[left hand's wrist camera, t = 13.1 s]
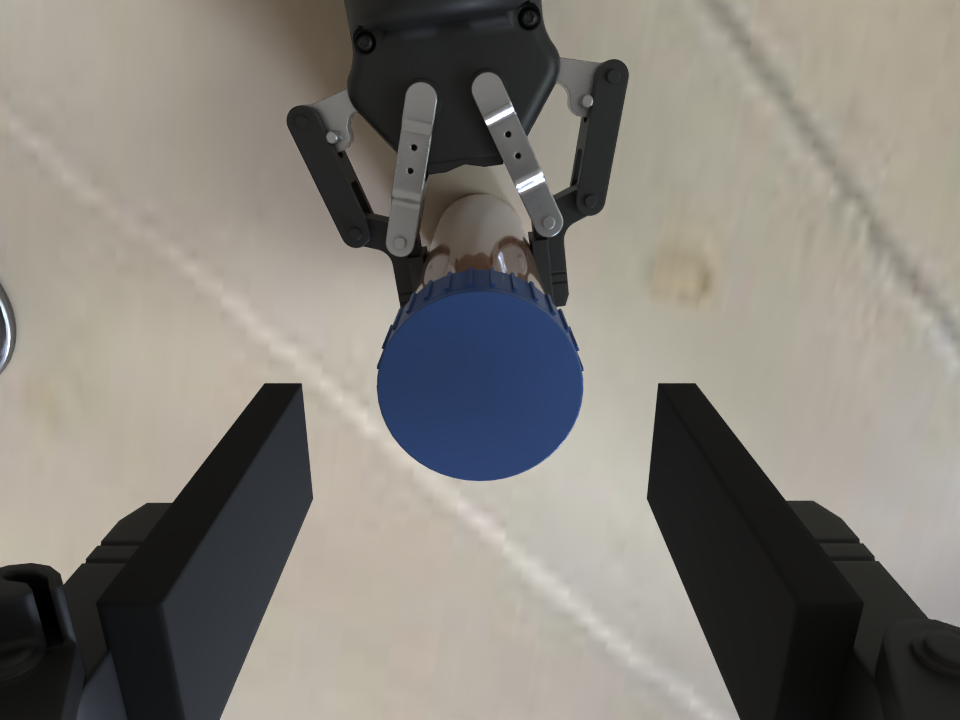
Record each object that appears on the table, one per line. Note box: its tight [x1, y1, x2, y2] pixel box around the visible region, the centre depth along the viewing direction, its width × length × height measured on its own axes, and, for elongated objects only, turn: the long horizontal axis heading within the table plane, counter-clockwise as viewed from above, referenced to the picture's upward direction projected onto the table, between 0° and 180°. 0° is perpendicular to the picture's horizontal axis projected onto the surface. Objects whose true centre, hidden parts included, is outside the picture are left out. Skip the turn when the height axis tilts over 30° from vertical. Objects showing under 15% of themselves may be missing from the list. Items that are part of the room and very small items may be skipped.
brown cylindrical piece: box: [415, 194, 546, 295], centre depth 27 cm, size 5×5×20 cm
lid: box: [377, 267, 584, 481], centre depth 18 cm, size 5×5×2 cm
